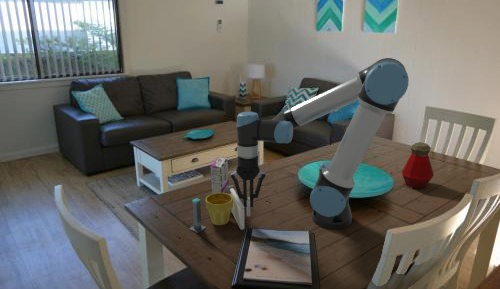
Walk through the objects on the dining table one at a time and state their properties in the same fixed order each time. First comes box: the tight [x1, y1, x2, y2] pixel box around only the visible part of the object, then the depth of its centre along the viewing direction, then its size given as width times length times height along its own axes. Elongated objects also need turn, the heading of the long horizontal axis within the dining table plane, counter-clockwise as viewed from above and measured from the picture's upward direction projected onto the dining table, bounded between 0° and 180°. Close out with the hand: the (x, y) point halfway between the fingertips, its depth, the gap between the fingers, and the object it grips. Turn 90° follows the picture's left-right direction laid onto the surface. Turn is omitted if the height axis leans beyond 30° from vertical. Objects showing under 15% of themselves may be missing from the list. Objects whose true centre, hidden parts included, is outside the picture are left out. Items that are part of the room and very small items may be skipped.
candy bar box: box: [210, 157, 230, 194], centre depth 166 cm, size 11×5×16 cm, turn 168°
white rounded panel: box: [228, 184, 246, 230], centre depth 148 cm, size 18×3×10 cm, turn 16°
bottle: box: [401, 141, 435, 189], centre depth 177 cm, size 16×14×20 cm
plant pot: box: [205, 193, 233, 226], centre depth 147 cm, size 10×10×10 cm
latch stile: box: [188, 197, 207, 234], centre depth 141 cm, size 4×4×12 cm
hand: (248, 214), depth 145 cm, fingers closed
